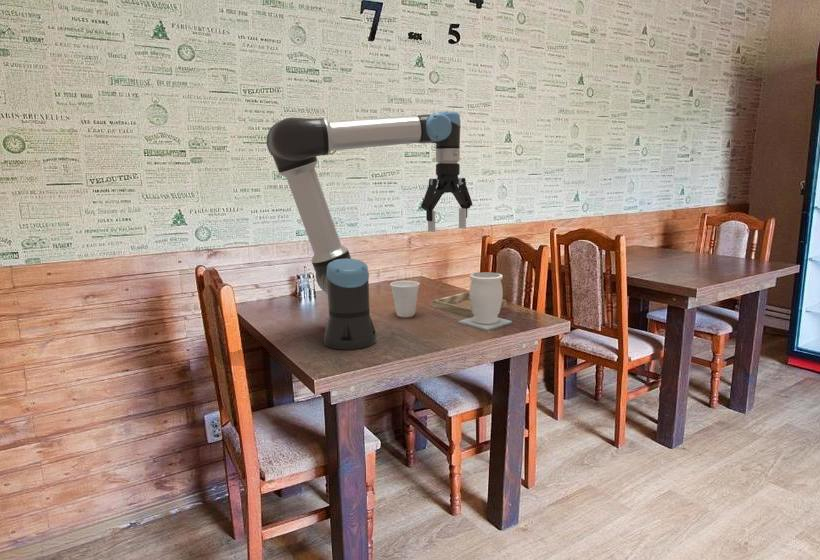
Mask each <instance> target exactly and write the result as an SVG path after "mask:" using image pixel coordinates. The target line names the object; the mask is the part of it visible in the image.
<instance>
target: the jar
mask: <svg viewBox="0 0 820 560" xmlns="http://www.w3.org/2000/svg"><path fill="white" fill-rule="evenodd" d="M503 276H504V275H503V274H501V273H498V272H491V271H490V272H489V271H488V272H487V271H484V272H474V273H471V274H469V279H470V280H471V281H470V285H469V292H470V300H469V302H470V308H472V312H473V314H474V316H473V321H474V322H476V323H480V324H494V323H497V322H498V321H499V318H500V317H499V314H500V312H501V309H502V308H501V303H502V299H503V294H504V293H503V291H504V290H503V284H502V280H503V278H504V277H503Z"/></svg>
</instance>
